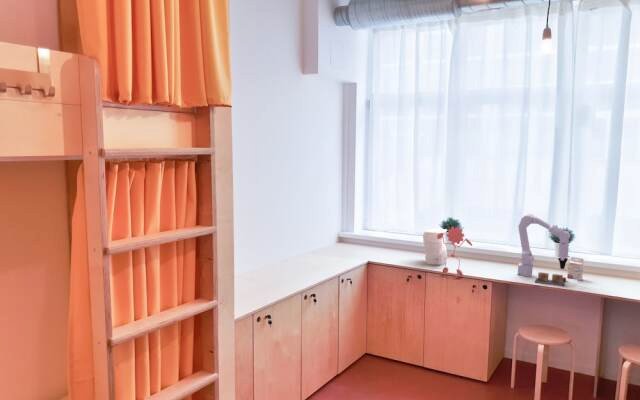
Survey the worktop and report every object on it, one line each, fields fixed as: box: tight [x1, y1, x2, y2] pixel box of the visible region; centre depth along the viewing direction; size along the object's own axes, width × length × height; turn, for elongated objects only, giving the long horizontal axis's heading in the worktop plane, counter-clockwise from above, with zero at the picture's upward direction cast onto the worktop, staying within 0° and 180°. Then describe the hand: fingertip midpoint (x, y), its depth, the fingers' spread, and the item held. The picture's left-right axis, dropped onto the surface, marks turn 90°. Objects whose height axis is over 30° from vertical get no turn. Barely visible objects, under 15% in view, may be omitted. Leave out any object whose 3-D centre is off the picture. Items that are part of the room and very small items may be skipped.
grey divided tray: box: [534, 277, 566, 287], centre depth 325 cm, size 18×9×2 cm, turn 61°
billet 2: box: [551, 273, 564, 284], centre depth 322 cm, size 6×4×6 cm, turn 60°
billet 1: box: [537, 271, 550, 282], centre depth 327 cm, size 6×4×6 cm, turn 61°
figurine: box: [437, 226, 473, 280], centre depth 344 cm, size 15×26×35 cm, turn 54°
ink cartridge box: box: [566, 256, 584, 281], centre depth 340 cm, size 9×5×15 cm, turn 44°
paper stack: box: [422, 228, 448, 266], centre depth 381 cm, size 21×27×26 cm
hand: (562, 268), depth 330 cm, fingers closed
